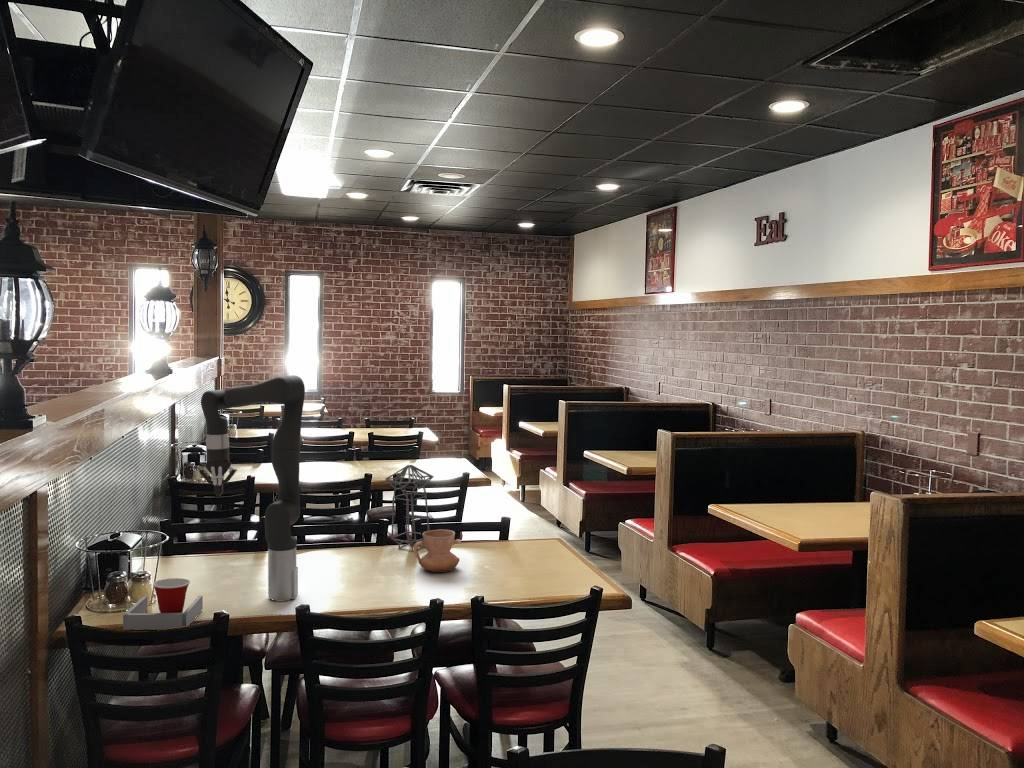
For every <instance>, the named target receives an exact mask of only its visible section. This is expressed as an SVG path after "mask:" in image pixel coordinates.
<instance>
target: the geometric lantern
mask: <svg viewBox="0 0 1024 768" xmlns="http://www.w3.org/2000/svg"><path fill="white" fill-rule="evenodd" d="M407 472H408V473H407ZM421 473H422V474H424V475H422V474H421ZM395 475H396V476H395ZM406 475H408V481H404V479H405V476H406ZM394 476H395V477H394ZM411 478H412V479H411ZM434 478H435V476H434V475H432V474H430V473H428V472H426V471H424V470H423V469H421V468H419V467H417V466H415V465H412V464H407V465H406V466H404V467H403V468H401V469H399V470H397V471H396V472H394V473H392V474H391V475H389V476H387V477H386V478H385V479H384V480H385V482H386V483H388V484H389V485H390V486H391V487H392V488H393V489H394V492H393V497H392V504H391V505H392V509H391V510H392V511H391V512H392V514H391V515H392V517H391V519H392V520H391V538H390V539H391V540H392V541H394V542H396V543H397V545H398V550H404V551H408V550H409V552H412V551H413V552H414V545H415V544H416V543H417V542H419V541H422V542H424V539H423V538H420V539H417V535H416V534H418V535H421V536H423V533H424V532H416V522H415V510H414V509H415V508H414V501H417V500H419V499H420V500H421V499H424V502H425V513H426V523H427V526H426V527H427V531H430V530H431V529H430V524H429V523H430V520H429V514H428V513H429V511H428V509H429V508H428V497H427V496H428V494H427V490H426V486H427V484H428V483H430V481H431V480H432V479H434ZM398 480H399V481H398ZM412 480H413V481H412ZM411 481H412V482H411ZM402 484H404V485H402ZM410 484H413V485H414V487H413V490H412V491H411V492H407V490H406V488H405V487H407V486H408V485H410ZM397 486H399V487H397ZM416 488H417V489H416ZM420 489H423V493H417V492H418V491H419V490H420ZM397 490H401V491H402V494H398V495H396V491H397ZM415 490H416V491H415ZM414 491H415V492H414ZM409 495H410V499H409ZM416 495H418V496H421V497H418V498H414V497H415V496H416ZM399 496H405V498H406V499H405V498H400V497H399ZM396 500H402V501H406V507H405V511H406V512H405V513H406V514H405V532H403V533H400V534H396V535H394V532H395V531H394V522H395V519H394V518H395V517H394V515H395V501H396ZM409 502H410V503H409ZM409 505H410V507H409ZM409 509H410V510H409ZM410 511H411V513H410ZM410 514H411V531H410ZM421 533H422V534H421ZM405 534H406V537H407V539H406V540H403V539H397V538H396V537H400V536H403V535H405ZM410 534H411V535H410ZM413 535H414V539H412V537H413ZM403 543H406V544H403ZM405 546H406V547H411V549H406V548H403V547H405ZM418 547H419V548H417V551H419V550H422V549H424V548H425V547H424V546H422V545H419V546H418ZM421 548H422V549H421ZM418 549H419V550H418Z"/></svg>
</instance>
